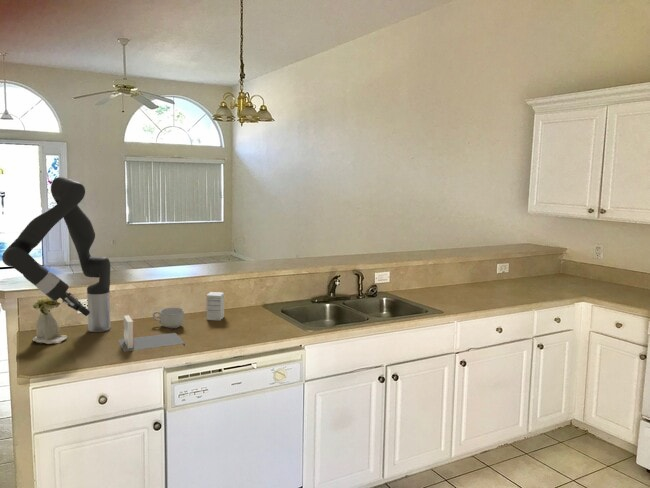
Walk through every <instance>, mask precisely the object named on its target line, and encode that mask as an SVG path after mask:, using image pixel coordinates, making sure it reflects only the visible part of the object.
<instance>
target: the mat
mask: <svg viewBox="0 0 650 488" xmlns="http://www.w3.org/2000/svg"><path fill="white" fill-rule="evenodd" d="M117 341H118V342H119V345H120V346H121V348H122V351H123V353H125V352H130V351H131V352H132V351H138V350H146V349H147V350H148V349H154V348H161V347H167V346H168V347H169V346H175V345H177V346H178V345H183V346H185V342H184V341H183V339H182V338H181V337H180V336H179V335H178V334H177V333H176V332H171V333H170V332H169V333H163V334H154V335H146V336H138V337H137V336H136V337H134V347H133V348H127V346H126V344H125V342H124V338H122V339H118V340H117Z"/></svg>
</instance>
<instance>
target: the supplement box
mask: <svg viewBox="0 0 650 488" xmlns="http://www.w3.org/2000/svg"><path fill="white" fill-rule="evenodd" d="M224 317H225V292H221V291H220V292H219V291H216V292H215V291H210V292H208V293H207V294H206V321H222V320H223V318H224ZM221 319H222V320H221Z"/></svg>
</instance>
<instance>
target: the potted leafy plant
mask: <svg viewBox="0 0 650 488" xmlns="http://www.w3.org/2000/svg"><path fill="white" fill-rule="evenodd" d="M61 303H62V302H61ZM61 303H60V302H58V300H56V301H53V300H52V299H51V298H49V297H43V298H39V299H38V300H37V301H36V302H35V303H34V304H32V308H34V309H35V310H39V312H40V313H39V315H38V317H37V320H36V324H35V326H36V327H35V330H36V331H35V332H36V336H34V337H33V338H32V339H31V341H32V342H36V343H40V344H43V343H44V344H47V345H50V344H61V343H62V342H63V341H66V339H68V336H67V334H66V335H63V334H62V335H61V334H60V333H59V332H60V330H61V329H60V325H59V322H58V321H57V320H56V318H55V317H54V315H53V314H52V313H51V311H52V309H56V308H59V306H60V305H61Z"/></svg>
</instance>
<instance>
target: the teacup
mask: <svg viewBox="0 0 650 488" xmlns="http://www.w3.org/2000/svg"><path fill="white" fill-rule="evenodd" d="M184 313H185V309H183V308H181V307H174V306H173V307H172V306H170V307H165V308H162V309H161V310H155V311H153V313H152V318H153V319H154V320H156V321H157V322H158V323H159V324H161V325H162V326H163V327H164V328H168V329H170V330H171V329H173V328H174V329H177V328H179V327H180V326H182V324H183V323H184V320H185V319H184V317H185V316H184V315H185V314H184ZM156 314H158V315H159V317H160V318H159V317H157V316H156Z"/></svg>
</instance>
